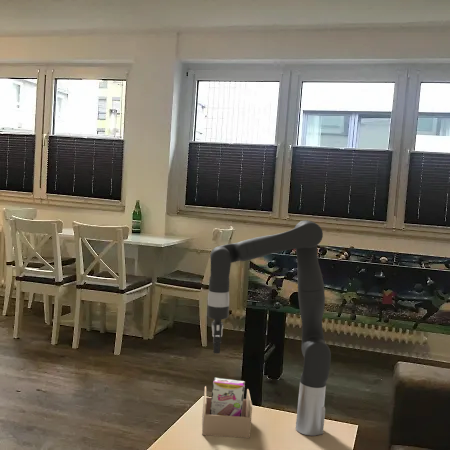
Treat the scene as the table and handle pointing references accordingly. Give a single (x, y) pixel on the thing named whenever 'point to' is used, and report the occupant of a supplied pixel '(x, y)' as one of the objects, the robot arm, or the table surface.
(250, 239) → the robot arm
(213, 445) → the table surface
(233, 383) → the candy bar box
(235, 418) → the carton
